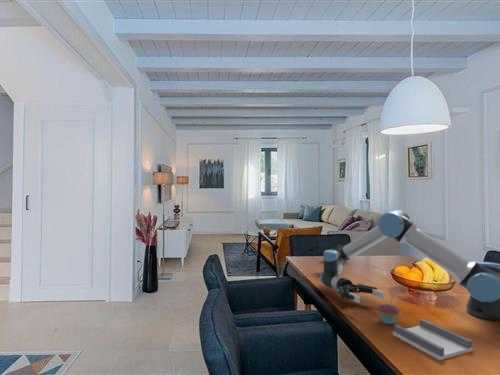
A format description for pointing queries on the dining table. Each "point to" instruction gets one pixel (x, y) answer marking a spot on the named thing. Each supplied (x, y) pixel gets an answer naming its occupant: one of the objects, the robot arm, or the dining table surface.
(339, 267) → the teacup
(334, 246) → the squash
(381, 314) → the cupcake
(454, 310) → the dining table surface
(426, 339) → the rail board
